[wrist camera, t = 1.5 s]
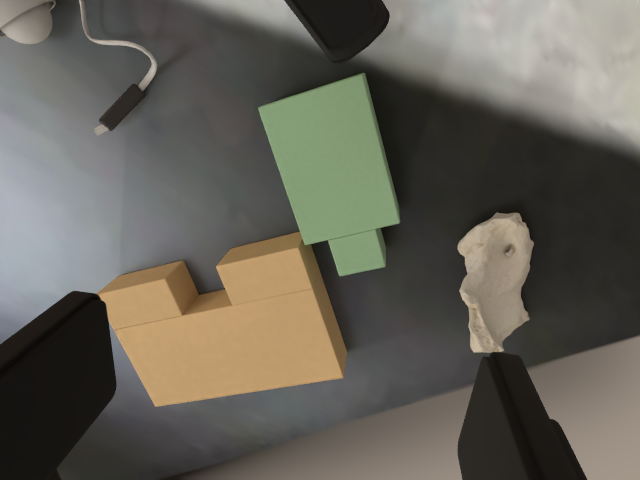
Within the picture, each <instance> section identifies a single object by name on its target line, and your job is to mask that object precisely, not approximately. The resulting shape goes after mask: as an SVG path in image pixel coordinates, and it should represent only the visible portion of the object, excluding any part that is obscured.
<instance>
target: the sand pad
mask: <svg viewBox="0 0 640 480" xmlns="http://www.w3.org/2000/svg"><path fill="white" fill-rule="evenodd" d="M216 268H217V270H218V273H219V275H220V277H221V280H222V282H223V285H224V287H225V289H223V290H219V291H214V292H210V293H205V294H201V295H199V293H198V291H197V289H196V287H195V285H194V282H193V280H192V278H191V276H190V273H189V271H188V269H187V267H186V265H185V262H184V261H183V260H182V261H178V262H174V263H170V264H166V265H161V266H157V267H153V268H149V269H145V270H141V271H137V272H133V273H129V274H124V275H120V276H118V277H117V278H115V279H114V280H113V281H112V282H111V283H109V284H108V285H107V286H106V287H104V288H103V289H102V290H101V291H99V292H98V293H97V295H99V296H100V298H101V301H104V302H105V303H106V307H107V314H108V320H109V322H110V323H111V325H112V327H113V329H114V331H115V333H116V335H117V337H118V339H119V340H120V342H121V344H122V346H123V348H124V350H125V351H126V353H127V355H128V357H129V359H130V361H131V363H132V364H133V366H134V368H135V370H136V372H137V374H138V375H139V377H140V379H141V381H142V383H143V385H144V386H145V388H146V390H147V392H148V394H149V396H150V397H151V399H152V401H153V403H154V405H155V406H156V407H157V406H164V405H170V404H177V403H183V402H190V401H196V400H203V399H209V398H216V397H222V396H229V395H235V394H242V393H248V392H255V391H261V390H268V389H275V388H281V387H288V386H294V385H301V384H307V383H314V382H320V381H327V380H333V379H340V378H344V370H345V363H346V355H347V350H346V347H345V344H344V341H343V338H342V335H341V332H340V329H339V326H338V323H337V320H336V317H335V314H334V312H333V309H332V306H331V303H330V300H329V297H328V294H327V291H326V288H325V285H324V282H323V279H322V276H321V273H320V270H319V267H318V264H317V261H316V258H315V255H314V252H313V249H312V246H311V244H309V245H305V244H304V241H303V239H302V236H301V233H300V232H297V233H293V234H289V235H284V236H280V237H276V238H272V239H268V240H264V241H260V242H256V243H251V244H247V245H243V246H239V247H235V248H231V249H230V250H229V251H228V253H227V254H226V255H225V256H224V257H223V259H222V260H221V261H220V262H219V264H218V265H217V266H216Z"/></svg>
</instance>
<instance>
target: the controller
mask: <svg viewBox="0 0 640 480" xmlns="http://www.w3.org/2000/svg"><path fill="white" fill-rule="evenodd" d="M285 2H286V3H287V4H288V6H289V7H290V8H291V10H292V11H293V12H294V14H295V15H296V16H297V17H298V19H299V20H300V21H301V23H302V24H303V25H304V27H305V28H306V29H307V31H308V32H309V33H310V34H311V36H312V37H313V38H314V40H315V41H316V42H317V44H318V45H319V46H320V48H321V49H322V50H323V51H324V53H325V54H326V55H327V57H328V58H329V59H330V61H331V62H333V63H344V62H346V61H348V60H350V59H351V58H353V57H354V56H355V55H357V54H358V53H359V52H361V51H362V50H364V49H365V48H366V47H368V46H369V45H370V44H371V43H372V42H373V41H374V40H375V39H376V38H377V37H378V36H379V35H380V34H381V33H382V32H383V30H384V29H385V28H386V26H387V24H388V22H389V18H390V15H389V11H388V10H387V8H386V6H385V5H384V3H383V1H382V0H285Z"/></svg>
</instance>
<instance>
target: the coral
mask: <svg viewBox="0 0 640 480" xmlns="http://www.w3.org/2000/svg"><path fill="white" fill-rule="evenodd" d="M533 245H534V243H533V241H531V240H530V236H529V229H528V228H527V227H526V223H524V222H522V218H521V216H520V214H519V213H510V214H503V213H498V212H497V213H496V214H494V216H493V217H492V218H490V219H489V220H487V221H485V222H483V223H481V224H479V225H477V226H475V227H474V228H473V229H472V230H470V231H469V232H468V233H467V234H466V236H465V237H464V238H463V239H462V240H461V241H460V242H459V244H458V251H459V253H460V254H461V255H463V256H464V257H465V266H466V268H467V273H468V274H467V276H466V277H465V278H464V279H463V282H462V285H461V288H460V293H461V297H462V299H463V301H465V303H466V305H468V308H469V317H470V321H469V329H470V332H471V334H470V336H471V337H470V346H471V349H472V350H473V351H474V353H475V352H479V353H480V352H501V351H504V349H503V347H502V342H503V340H504V339H505V338H506V337H507V336H508V335H510V334H511V333H512V332H513V330H514V329H516V328H517V327H519V326H521V325H522V324H523V323H524V322H525V321H528V320H529V319H530V318H529V317H528V312H526V310H525V309H524V307H523V301H522V299H521V288H522V285H523V284H524V282H525V280H526V277H527V274H528V272H529V270H530V265H529V262H530V259H531V252H532V248H533Z"/></svg>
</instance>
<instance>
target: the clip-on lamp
mask: <svg viewBox="0 0 640 480" xmlns="http://www.w3.org/2000/svg"><path fill="white" fill-rule="evenodd" d="M79 3H80V10H81V18H82V25H83V29H84V32H85V35H86V36H87V37H88V38H89V39H90V40H91V41H93V42H96V43H98V44H104V45H122V46H130V47H134V48H137V49H139V50H141V51H143V52H144V53H145V54H146V55H148V57H149V58H150V59H151V62H152V65H151V68H150V70H149V72H148V73H147V75H146V76H145V77H144V79H143V80H142V81H141V82H140V84H139V85H138V86H137V85H135V84H132V85H131V86H130V87H129V88H128V90H127V91H126V92H125V93H124V94H123V95H122V96H121V97H120V98H119V99H118V100H117V101H116V102H115V103H114V104H113V105H112V106H111V107H110V108H109V109H108V110H107V111H106V112H105V114H104V115H103V116H102V117H101V118H100V119H99V122H100V123H101V124H102V125H100V126H98V127H96V128H95V129H94V130H95V132H96V134H97V135H99V134H101V133H103V132H105V131H107V130H110V131H112V130H113V129H114V128H115V127H116V126H117V125H118V124H119V123H120V122H121V121H122V120H123V119H124V118H125V117H126V116H127V115H128V114H129V113H130V111H131V110H132V109H133V108H134V107H135V106H136V105H137V104H138V103H139V102H140V101H141V100H142V99H143V98H144V97H145V93H144V92H143V91H144V89H145V88H146V87H147V86H148V84H149V83H150V82H151V80H152V79H153V77H154V75H155V73H156V71H157V62H156V60H155V58H154V57H153V55H152V54H151V53H150V52H149V51H148V50H146V49H145V48H144V47H142V46H140V45H138V44H136V43H132V42H128V41H120V40H97V39H94V38H93V37H92V36H91V34H90V31H89V28H88V23H87V17H86V9H85V3H84V0H79ZM55 5H56V2H55V0H0V38H2V37H5V36H8V37H9V38H11V39H13V40H15V41H17V42H20V43H24V44H35V43H39V42H41V41H43V40H45V39H46V38H47V37H48V36H49V34H50V33H51V30H52V26H53V20H52V15H51V13H50V11H51V10H52V9H53V8H54V6H55Z"/></svg>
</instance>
